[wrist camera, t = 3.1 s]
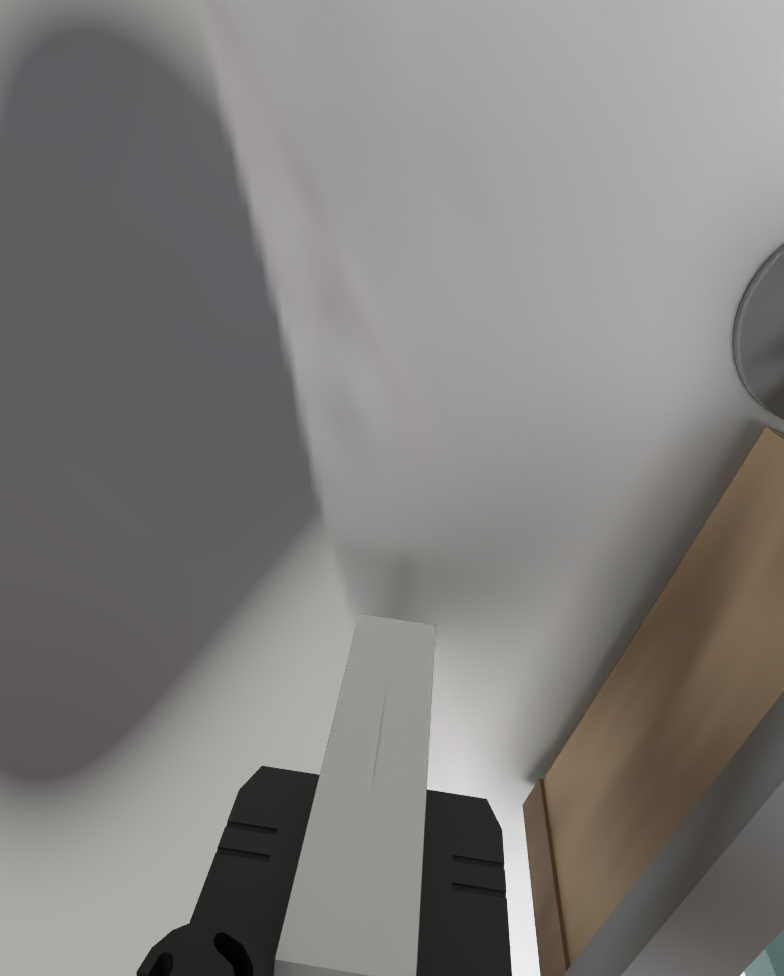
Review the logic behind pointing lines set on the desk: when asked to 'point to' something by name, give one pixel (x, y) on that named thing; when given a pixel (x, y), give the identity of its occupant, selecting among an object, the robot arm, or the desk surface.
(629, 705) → the gate
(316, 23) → the desk surface
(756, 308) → the hinge post
